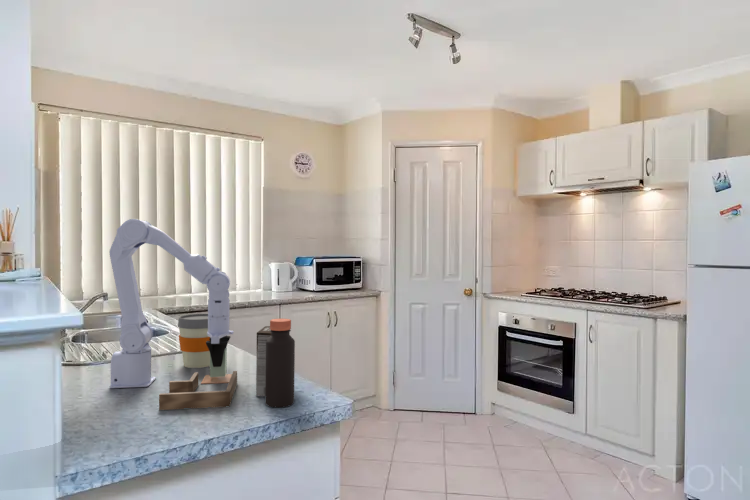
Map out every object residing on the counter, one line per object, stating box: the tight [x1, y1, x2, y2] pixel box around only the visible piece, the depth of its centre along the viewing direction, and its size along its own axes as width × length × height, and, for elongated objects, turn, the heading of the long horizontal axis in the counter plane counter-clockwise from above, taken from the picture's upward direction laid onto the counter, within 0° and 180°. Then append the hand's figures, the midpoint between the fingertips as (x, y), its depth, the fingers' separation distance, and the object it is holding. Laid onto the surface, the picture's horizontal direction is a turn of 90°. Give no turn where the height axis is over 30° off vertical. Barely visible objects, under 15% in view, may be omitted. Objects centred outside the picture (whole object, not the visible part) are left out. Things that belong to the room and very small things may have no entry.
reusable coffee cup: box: [177, 313, 210, 369], centre depth 152 cm, size 13×13×15 cm
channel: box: [158, 370, 238, 411], centre depth 121 cm, size 16×18×4 cm
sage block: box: [209, 347, 228, 377], centre depth 135 cm, size 4×4×7 cm
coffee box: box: [255, 325, 271, 397], centre depth 125 cm, size 9×6×16 cm
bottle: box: [264, 318, 296, 409], centre depth 116 cm, size 7×7×20 cm
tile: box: [200, 373, 232, 385], centre depth 135 cm, size 8×8×1 cm
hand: (218, 364), depth 135 cm, fingers closed on sage block, 4 cm apart
